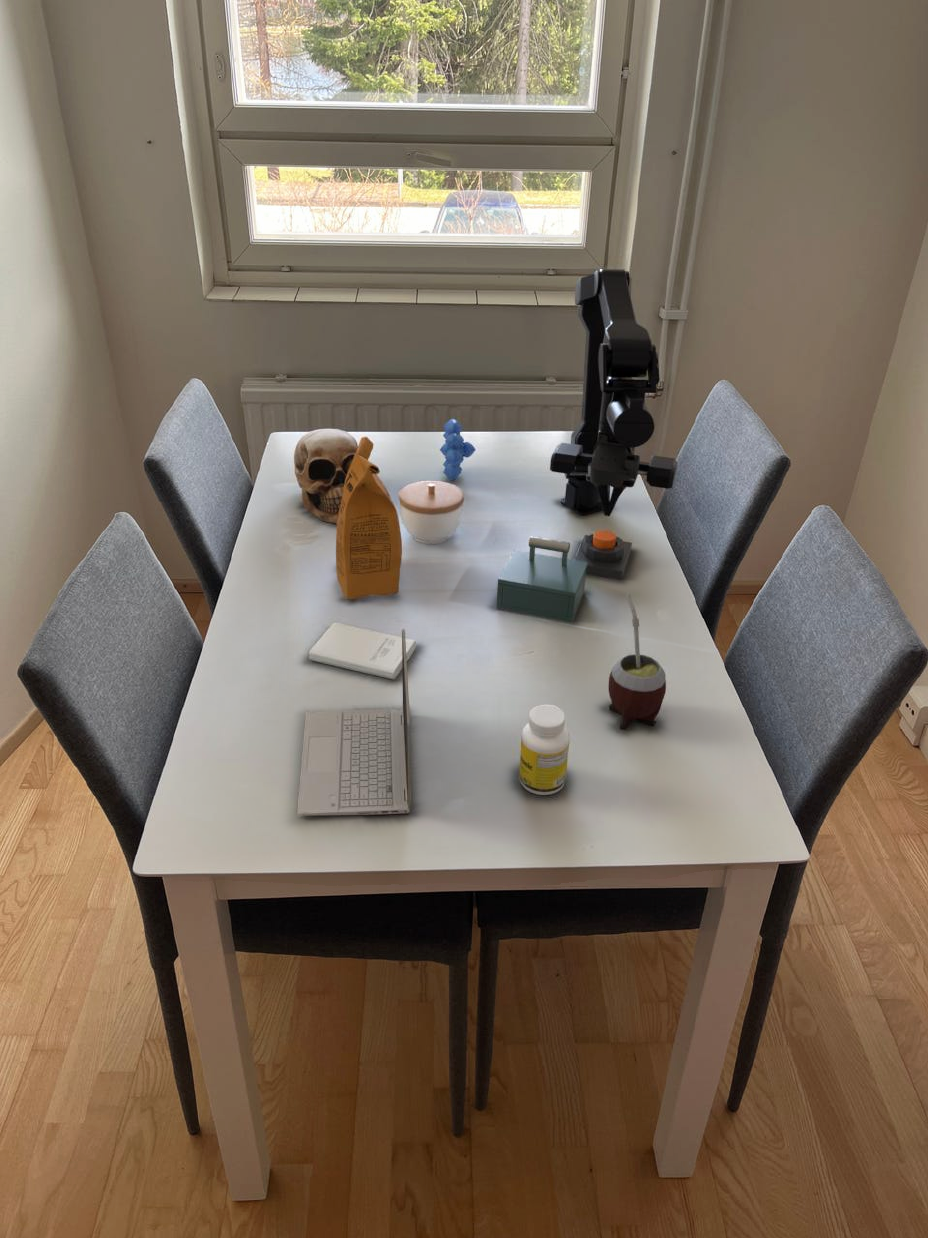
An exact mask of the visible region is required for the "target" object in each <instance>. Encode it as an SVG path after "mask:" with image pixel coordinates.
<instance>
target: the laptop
mask: <svg viewBox="0 0 928 1238" xmlns="http://www.w3.org/2000/svg"><path fill="white" fill-rule="evenodd" d="M401 637H402V669H401V671H402V674H401V675H402V708H401V707H400V708H373V709H372V708H371V709H370V708H369V709H368V708H367V709H343V710H342V709H340V710H338V709H337V710H309V711H306V713H305V722H304V733H303V744H302V755H301V766H300V778H299V788H298V800H297V812H296V815H297V816H299V817H300V816H301V817H304V816H362V815H365V816H366V815H370V816H371V815H397V814H398V815H399V814H400V815H401V814H409V813H410V812H411V810H410V809H411V806H412V805H411V804H412V803H411V801H412V788H411V787H412V786H411V783H412V782H411V779H412V778H411V712H410V697H409V696H410V695H409V694H410V693H409V679H408V661H407V659H406V641H405V638H406V631H405V628H402V629H401Z"/></svg>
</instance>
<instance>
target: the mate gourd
mask: <svg viewBox="0 0 928 1238" xmlns="http://www.w3.org/2000/svg"><path fill="white" fill-rule="evenodd" d="M625 597H626V600H627V603H628V607H629V608H630V612H631V616H632V619H631V621H632V622H631V623H632V627H633V637H634V639H633V640H634V654H628V655H626V656H623V657H621V658H619V660H618V661H617V662H616V663H615V664H614V665H613V666H612V668H611V671H610V673H609V676H608V694H609V699H610V701H611V702H610V704H609V706H608V710H609V711H610V712H613V713H616V714H618V715H621V717H622V722H621V723H620V725H619V729H620V730H621V731H626V730H627V729H628V728H629V727H630V725H631V724H632V722H634V721H636V722H639V723H641V724H643V725H647V726H649V727H653V728H654V727H655V726H656V723H657V720H655V719H656V717H657V716H658V714H659V713H660V711H661V708H662V704H663V701H664V698H665V696H666V692H667V679H666V678H667V677H666V676H667V675H666V672H665V670H664V668H663V667H662V666H661V664H660V663H659V661H658V660H656V659H654V658H653V657H651V656H648V655H645V654H641V652H640V635H639V633H640V631H639V627H640V622H639V620H640V619H639V618H638V614H637V611H636V608H635V605H634V602H633V600H632V597H631V595H630V593H626V594H625Z"/></svg>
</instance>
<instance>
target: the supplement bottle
mask: <svg viewBox="0 0 928 1238" xmlns="http://www.w3.org/2000/svg"><path fill="white" fill-rule="evenodd" d="M565 725H566V714H565V712H564V711H563V710H562V709H561V708H559V707H557V706H555V705H553V704H540V705H537V706H534V707H532V709H531V710H530V712H529V717H528V723H526V724H525V726H524V727H523V729H522V731H521V739H520V740H521V743H520V759H519V771H518V772H519V773H518V778H519V782H520V784H521V786H522V787H523V788H524V789H525V790H526V791H527V792H529V793H532V794H534V795H537V796H548V795H553V794H556V793H558V792H559V791H561V790H562V788H563V787H564V785H565V784H566V777H567V769H568V759H569V758H568V757H569V750H570V748H569V747H570V732H569V730H568V728H567V727H566V726H565Z"/></svg>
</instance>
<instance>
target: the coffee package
mask: <svg viewBox="0 0 928 1238" xmlns="http://www.w3.org/2000/svg"><path fill="white" fill-rule="evenodd" d="M373 449H374V442H372V440H371V439H370V438H368V436H362V437H361V438H360V439H359V443H358V449H357V451H356V454H355V456H354V458H353V461H352V464H351V466H350V468H349V470H348V473H347V476H346V479H345V484H344V491H343V496H342V500H341V504H340V508H339V513H338V518H337V524H336V535H335V564H336V566H335V567H336V577H337V578H336V579H337V582H338V584H339V587H340V590H341V592H342V594H343V596H344V598H345V599H347V600H356V599H360V598H366V597H370V596H389V595H393V594H396V593H398V592H399V589H400V578H401V577H400V576H401V568H402V567H401V566H402V560H403V559H402V558H403V543H402V542H403V541H402V532H401V526H400V520H399V519H400V518H399V514H398V511H397V509H396V506H395V504H394V502H393V500H392V498H391V495H390V493H389V490H388V489H387V487H386V486H385V484H384V483H383V481H382V480H381V478H380V477H379V474H380V472H381V470H380V468H379V466H378V465H376V464H374V463H373V462H371V461H370V460H369V459H370V457H371V454H372V452H373Z"/></svg>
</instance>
